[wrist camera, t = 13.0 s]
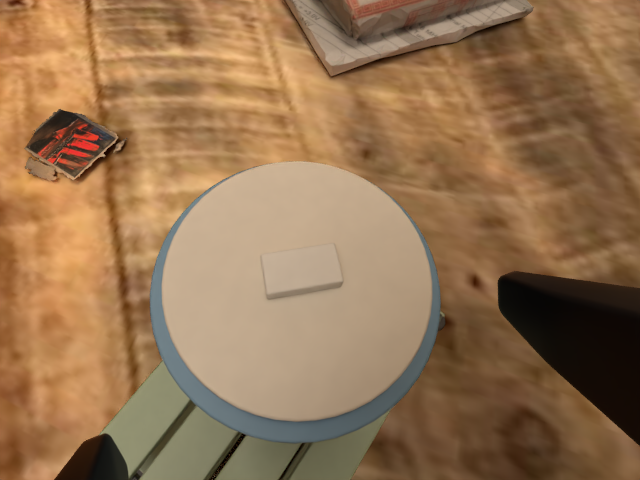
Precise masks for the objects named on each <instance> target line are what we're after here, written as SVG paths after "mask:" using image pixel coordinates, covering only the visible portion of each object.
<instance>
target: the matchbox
mask: <svg viewBox="0 0 640 480" xmlns="http://www.w3.org/2000/svg"><path fill="white" fill-rule="evenodd" d="M117 139H118V136H117V134H116V133H115V132H113V131H111V132H110V131H109V130H107V129H105V126H101V125H98V124H97V123H94V122H92V121H91V120H89V119H88V118H86V116H85V115H82V114H78V113H72V112H68V111H63V110H61V109H59V110H58V111H57V112H54V113H53V115H52V116H50V117H49V119H46V121H45V122H44V123H42V124H41V125H40V126H39V128H37V129H36V131H35V133H34V135H33V137H32V138H31V140H30V141H29V143H28V144H27V146H26V147H25V148H24V149H26V150H27V151H28V152H30V153H31V154H33V156H34V157H35V156H36V158H39V161H44V163H47V164H48V165H49V166H48V165H44V164H42V163H41V162H38V161H37V160H35V162H34V160H33V159H32V160H31V158H32V157H29V159H28V160H27V163H26V166H25V169H27V168H28V169H31V172H29V174H30V173H31V174H33V176H35V175H37V177H40V178H44V179H48V180H54V181H55V180H56V178H57V177H56V176H53V175H54V174H55V171H54V170H56V171H57V172H59V173H64V174H65V175H66V177H67V178H71V179H72V180H75V179H76V178H77V177H78V176H79V177H80V174H82V173H83V172H84V170H85V169H87V168H88V167H89V166H91V165H92V163H93V162H94V161H95V160H96V159H97V158H99V157H104V156H105V155H104V154H103V153H104V152H105V151H106V150H107V148H109V147H110V146H112V144H114V143H116V142H115V141H116V140H117ZM124 141H126V140H125V139H123V141H121V142H119V143H117V145H116V149H115V150H114V153H115V151H120V150H121V147H123V145H124Z"/></svg>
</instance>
